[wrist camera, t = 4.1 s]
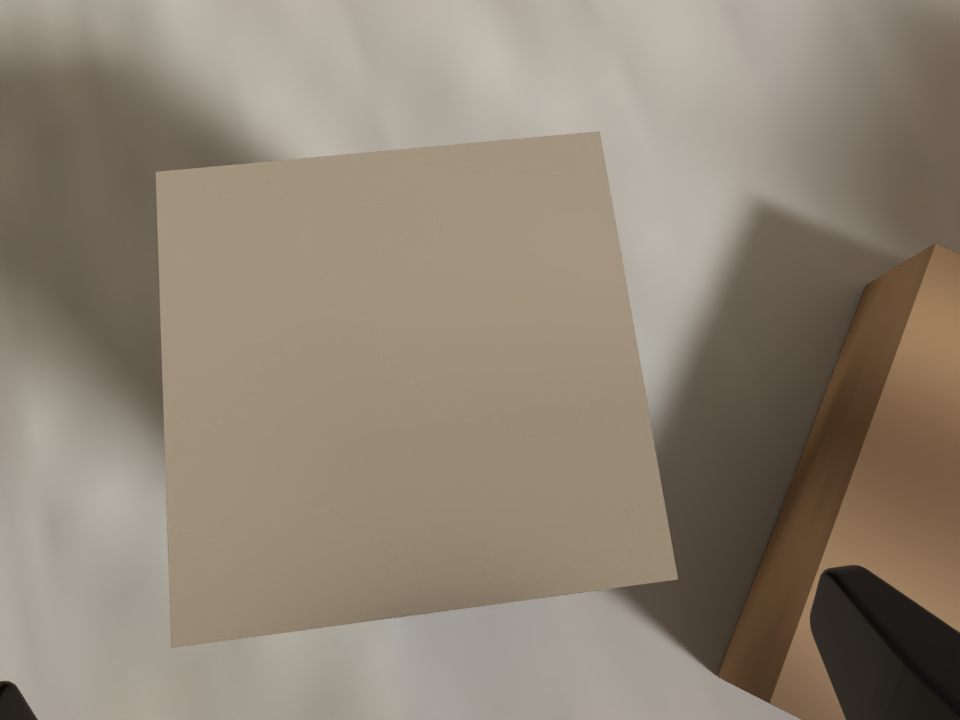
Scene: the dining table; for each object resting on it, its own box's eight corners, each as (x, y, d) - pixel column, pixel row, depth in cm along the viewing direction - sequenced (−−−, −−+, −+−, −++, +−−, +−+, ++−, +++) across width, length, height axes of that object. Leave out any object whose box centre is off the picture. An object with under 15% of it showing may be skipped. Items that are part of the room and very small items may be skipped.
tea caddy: (544, 555, 19) (678, 579, 8) (330, 583, 18) (171, 648, 8) (515, 351, 20) (599, 131, 9) (314, 373, 19) (155, 171, 9)
